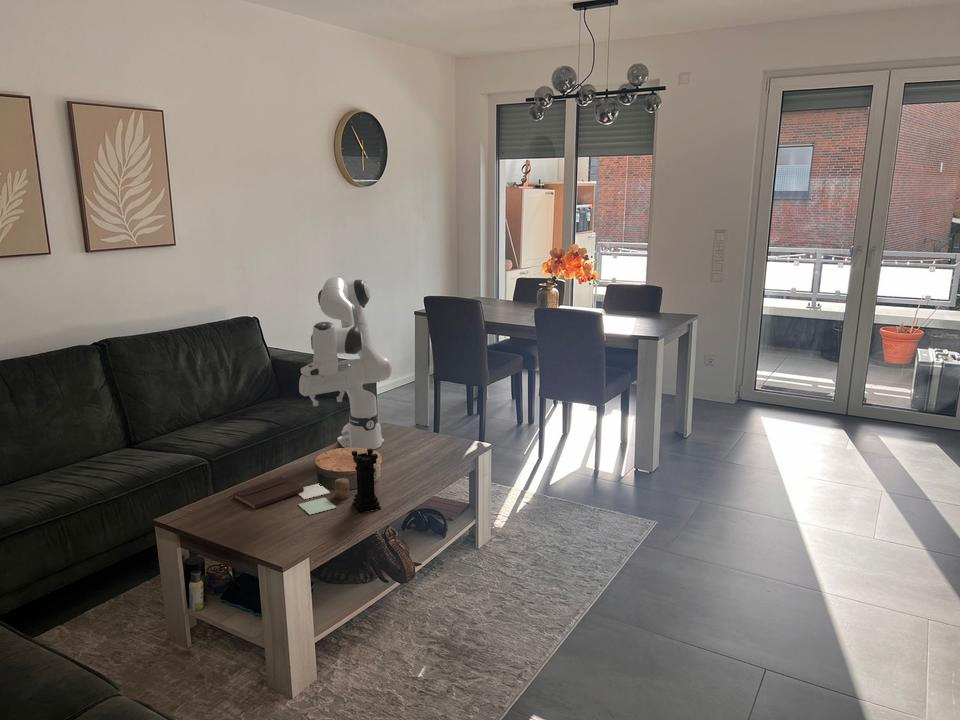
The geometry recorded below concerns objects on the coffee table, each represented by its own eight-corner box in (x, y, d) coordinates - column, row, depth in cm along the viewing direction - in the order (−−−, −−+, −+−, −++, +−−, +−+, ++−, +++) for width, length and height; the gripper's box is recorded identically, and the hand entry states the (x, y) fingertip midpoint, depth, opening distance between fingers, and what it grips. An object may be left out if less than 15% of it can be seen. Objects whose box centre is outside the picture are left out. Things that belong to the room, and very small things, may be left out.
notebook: (304, 491, 259) (303, 486, 259) (255, 509, 245) (254, 504, 245) (281, 480, 269) (281, 475, 268) (233, 497, 255) (233, 492, 254)
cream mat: (293, 490, 261) (293, 489, 261) (319, 484, 267) (319, 483, 267) (304, 499, 253) (304, 498, 253) (330, 493, 259) (330, 492, 259)
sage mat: (298, 505, 249) (298, 504, 249) (324, 498, 254) (324, 497, 254) (309, 515, 241) (309, 514, 241) (336, 508, 247) (336, 507, 246)
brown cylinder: (333, 495, 257) (332, 480, 255) (345, 492, 260) (345, 477, 258) (339, 500, 253) (338, 484, 252) (351, 497, 256) (351, 481, 254)
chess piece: (374, 500, 253) (372, 447, 248) (380, 509, 246) (379, 455, 241) (352, 504, 250) (350, 451, 245) (358, 513, 243) (356, 458, 238)
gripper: (348, 361, 266) (349, 397, 269) (296, 369, 254) (298, 406, 257) (355, 364, 261) (357, 400, 264) (303, 372, 249) (305, 410, 252)
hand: (327, 403), depth 260 cm, fingers open, 8 cm apart
